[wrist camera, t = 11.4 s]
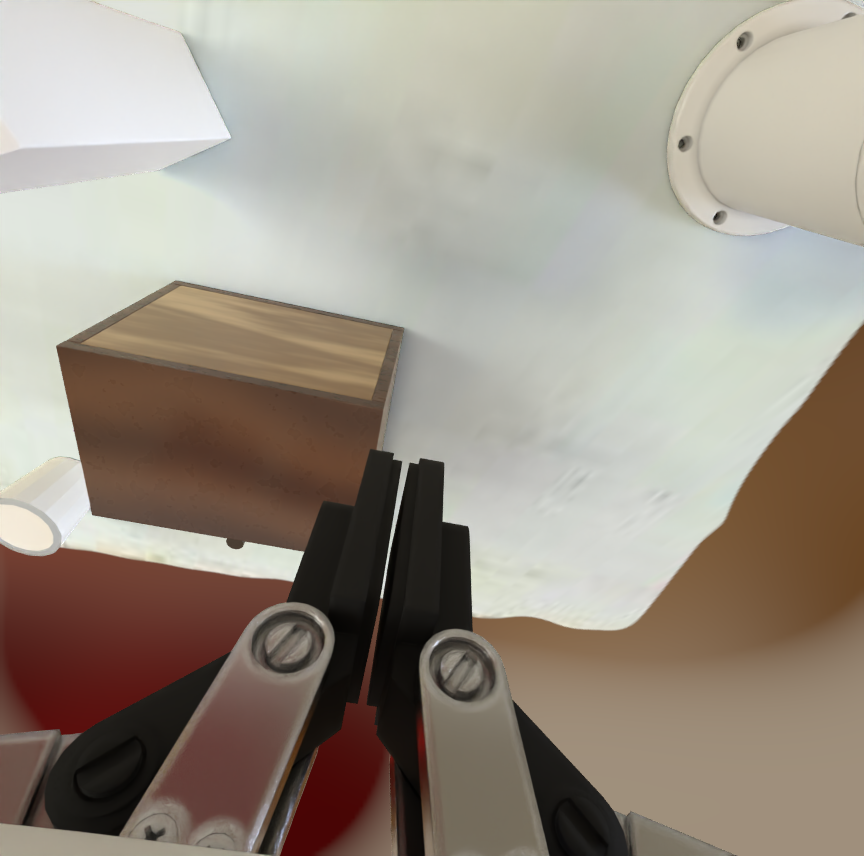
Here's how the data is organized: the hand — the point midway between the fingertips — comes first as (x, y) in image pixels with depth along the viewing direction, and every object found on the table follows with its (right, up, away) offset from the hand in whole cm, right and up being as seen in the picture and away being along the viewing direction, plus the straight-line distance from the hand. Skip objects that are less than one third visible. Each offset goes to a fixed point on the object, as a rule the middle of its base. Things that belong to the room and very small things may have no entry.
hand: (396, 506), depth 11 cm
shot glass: (-35, -3, +38) cm, 52 cm away
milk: (-16, +23, +21) cm, 35 cm away
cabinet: (-11, +7, +30) cm, 33 cm away
